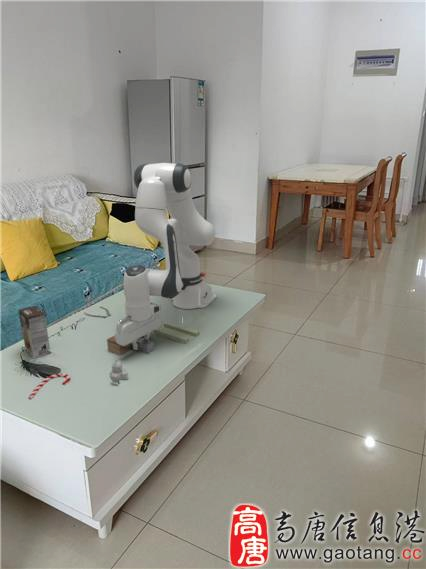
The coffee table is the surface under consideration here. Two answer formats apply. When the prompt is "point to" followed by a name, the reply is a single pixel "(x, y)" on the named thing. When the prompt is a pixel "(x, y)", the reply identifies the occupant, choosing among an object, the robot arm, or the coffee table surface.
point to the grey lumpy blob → (118, 372)
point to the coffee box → (34, 331)
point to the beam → (118, 346)
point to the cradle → (177, 332)
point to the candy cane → (47, 381)
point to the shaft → (145, 345)
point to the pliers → (100, 316)
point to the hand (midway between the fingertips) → (140, 346)
